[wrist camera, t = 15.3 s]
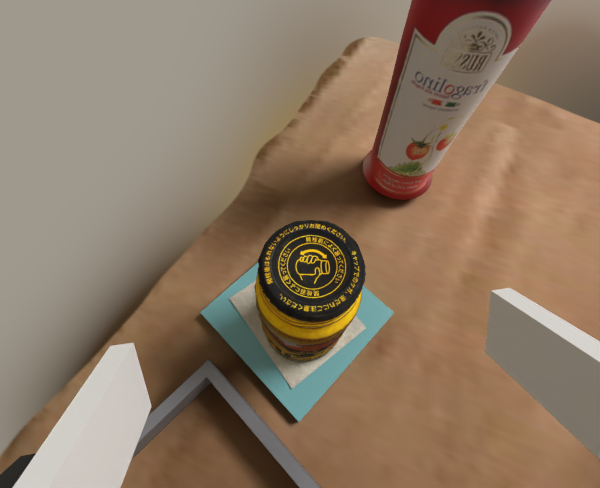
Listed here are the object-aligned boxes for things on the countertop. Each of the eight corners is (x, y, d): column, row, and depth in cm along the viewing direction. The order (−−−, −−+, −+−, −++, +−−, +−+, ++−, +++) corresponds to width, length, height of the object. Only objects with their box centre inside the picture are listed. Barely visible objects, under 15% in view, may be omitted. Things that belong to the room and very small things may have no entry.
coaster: (297, 232, 31) (297, 227, 31) (391, 315, 28) (394, 312, 28) (202, 315, 28) (200, 312, 27) (298, 422, 24) (298, 422, 24)
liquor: (430, 158, 36) (757, -418, 11) (428, 215, 33) (882, -419, 8) (362, 145, 37) (530, -437, 12) (353, 200, 33) (559, -446, 8)
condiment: (292, 389, 25) (297, 368, 14) (229, 298, 28) (194, 224, 17) (365, 328, 27) (419, 271, 16) (301, 250, 30) (309, 158, 19)
